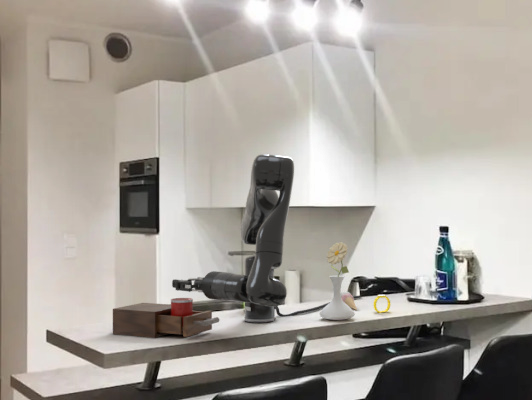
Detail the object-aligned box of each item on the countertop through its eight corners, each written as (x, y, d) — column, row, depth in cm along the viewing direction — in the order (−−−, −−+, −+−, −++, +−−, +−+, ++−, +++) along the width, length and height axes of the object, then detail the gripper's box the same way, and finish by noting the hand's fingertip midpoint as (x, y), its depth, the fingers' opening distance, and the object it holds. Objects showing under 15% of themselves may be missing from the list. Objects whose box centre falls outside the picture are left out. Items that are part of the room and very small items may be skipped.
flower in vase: (314, 317, 230) (314, 240, 230) (346, 315, 234) (346, 240, 234) (329, 323, 218) (329, 242, 218) (363, 321, 222) (362, 242, 222)
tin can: (179, 325, 204) (179, 297, 204) (197, 326, 201) (197, 298, 201) (166, 328, 198) (166, 300, 198) (184, 330, 196) (184, 301, 196)
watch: (387, 311, 244) (387, 294, 244) (391, 312, 241) (391, 294, 241) (372, 312, 241) (372, 295, 241) (376, 313, 239) (376, 295, 239)
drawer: (224, 330, 201) (224, 311, 201) (200, 338, 190) (200, 318, 190) (172, 326, 209) (172, 308, 209) (146, 333, 197) (146, 314, 197)
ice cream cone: (365, 312, 247) (351, 297, 261) (360, 301, 245) (346, 287, 259) (353, 319, 246) (339, 303, 260) (348, 308, 244) (335, 293, 258)
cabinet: (183, 329, 208) (183, 305, 208) (154, 337, 195) (154, 311, 195) (142, 326, 214) (142, 302, 214) (112, 334, 201) (112, 308, 201)
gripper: (243, 270, 193) (205, 267, 204) (202, 274, 183) (164, 270, 193) (243, 297, 193) (205, 293, 204) (202, 303, 183) (164, 298, 193)
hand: (185, 282), depth 199 cm, fingers open, 8 cm apart
